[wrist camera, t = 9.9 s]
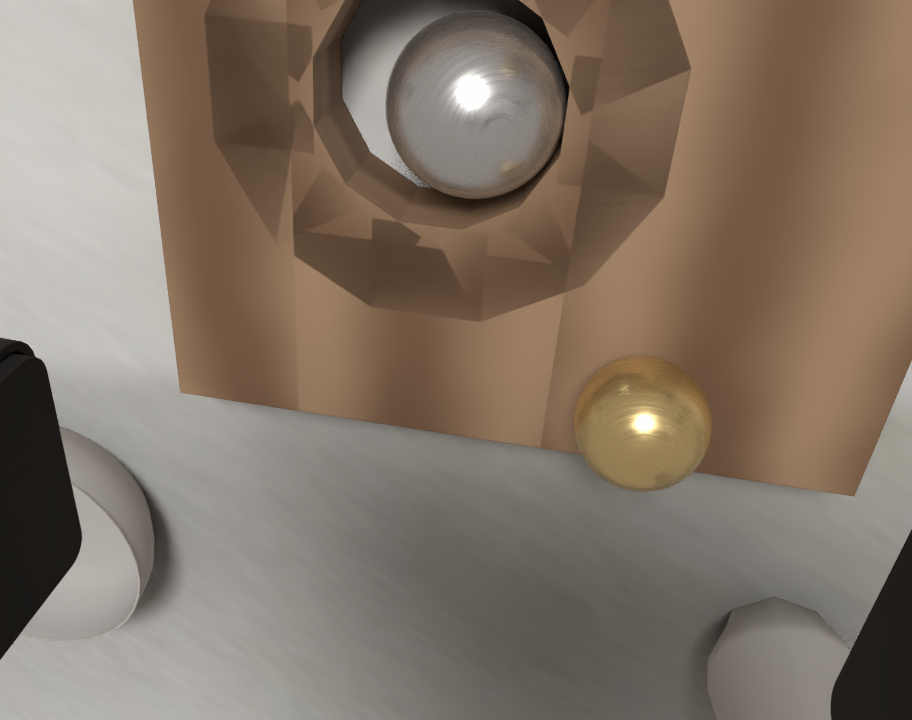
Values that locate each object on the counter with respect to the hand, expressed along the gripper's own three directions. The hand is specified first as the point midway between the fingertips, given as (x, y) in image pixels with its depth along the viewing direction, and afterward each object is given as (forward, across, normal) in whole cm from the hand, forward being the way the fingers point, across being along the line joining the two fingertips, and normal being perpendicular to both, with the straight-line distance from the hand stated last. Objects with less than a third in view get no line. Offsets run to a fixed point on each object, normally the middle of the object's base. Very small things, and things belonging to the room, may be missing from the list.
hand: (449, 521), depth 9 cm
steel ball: (+17, +2, 0) cm, 17 cm away
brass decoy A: (+14, -4, +8) cm, 17 cm away
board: (+19, 0, 0) cm, 19 cm away
